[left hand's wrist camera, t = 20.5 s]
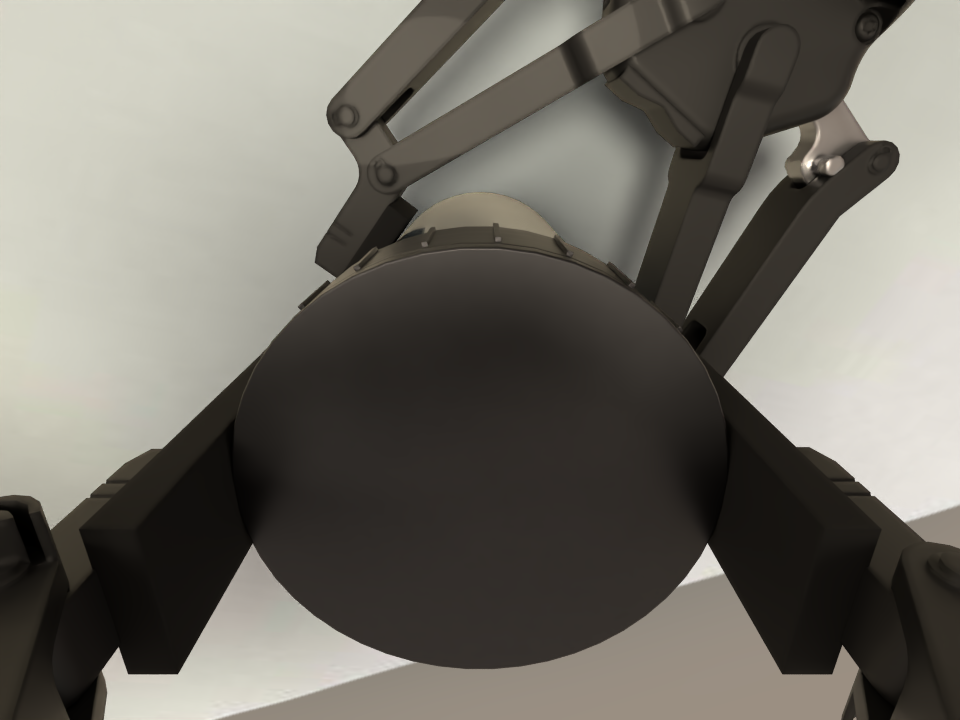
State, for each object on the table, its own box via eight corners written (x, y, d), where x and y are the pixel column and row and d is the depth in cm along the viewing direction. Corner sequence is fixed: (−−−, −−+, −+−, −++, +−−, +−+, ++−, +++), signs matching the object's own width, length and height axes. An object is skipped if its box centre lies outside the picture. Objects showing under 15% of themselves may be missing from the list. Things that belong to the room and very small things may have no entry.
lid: (264, 559, 14) (222, 637, 11) (287, 179, 10) (234, 188, 8) (618, 613, 14) (642, 697, 12) (750, 272, 11) (818, 305, 9)
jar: (601, 300, 26) (762, 505, 11) (464, 395, 27) (446, 677, 13) (498, 151, 23) (530, 163, 9) (355, 266, 25) (181, 436, 10)
